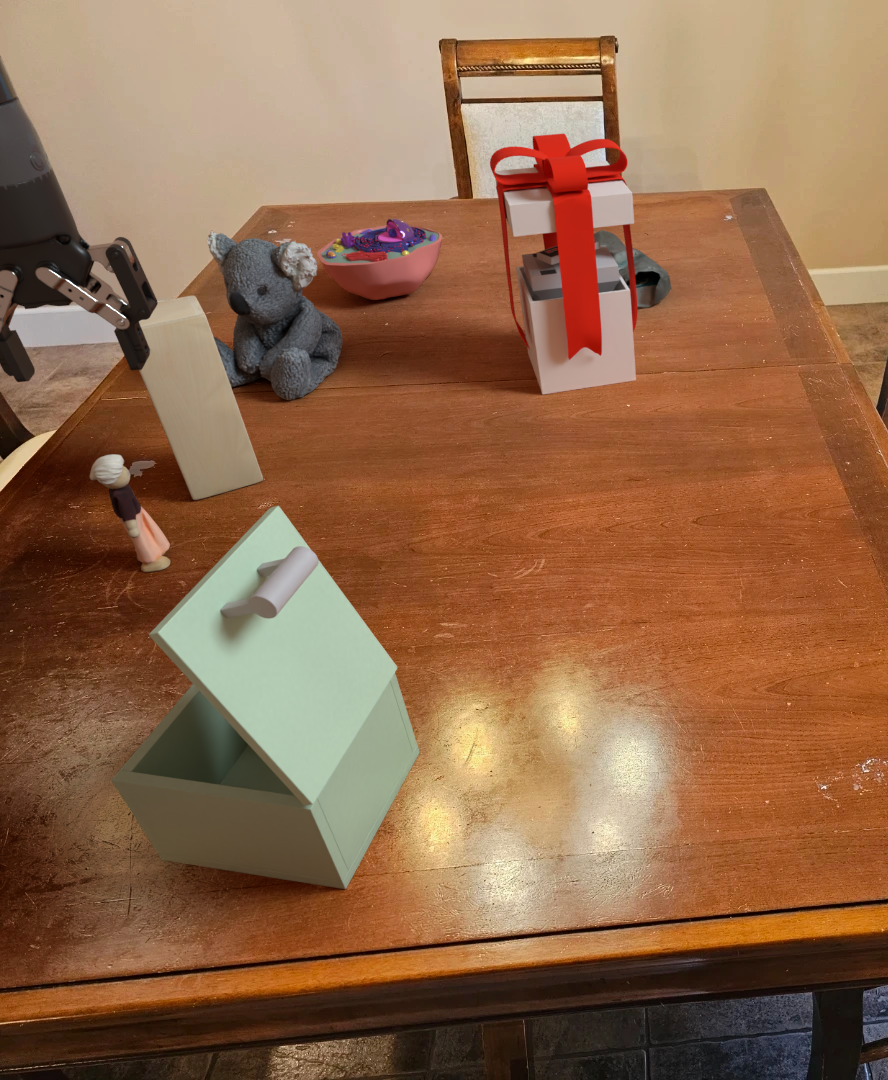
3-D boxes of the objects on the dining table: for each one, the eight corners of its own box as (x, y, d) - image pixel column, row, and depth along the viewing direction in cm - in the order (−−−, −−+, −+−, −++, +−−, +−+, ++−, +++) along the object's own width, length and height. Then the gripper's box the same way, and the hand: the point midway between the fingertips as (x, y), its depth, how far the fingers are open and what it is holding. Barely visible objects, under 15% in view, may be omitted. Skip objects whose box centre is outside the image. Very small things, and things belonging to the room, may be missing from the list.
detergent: (682, 305, 149) (636, 250, 168) (678, 263, 145) (631, 211, 163) (604, 324, 146) (566, 266, 164) (597, 282, 142) (559, 227, 160)
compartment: (161, 860, 69) (110, 780, 63) (257, 729, 79) (220, 650, 73) (345, 889, 67) (310, 809, 61) (420, 752, 77) (395, 672, 71)
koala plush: (195, 390, 128) (140, 251, 116) (277, 336, 141) (236, 206, 129) (303, 406, 124) (259, 264, 112) (377, 349, 138) (344, 217, 126)
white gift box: (625, 334, 141) (610, 124, 123) (653, 384, 128) (640, 158, 110) (513, 350, 137) (480, 135, 119) (530, 403, 124) (496, 172, 106)
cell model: (311, 293, 154) (292, 225, 148) (420, 263, 165) (407, 199, 158) (356, 324, 144) (337, 253, 138) (469, 290, 155) (457, 223, 148)
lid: (147, 634, 53) (212, 622, 51) (269, 507, 63) (327, 493, 61) (303, 805, 61) (364, 799, 60) (390, 669, 71) (443, 660, 70)
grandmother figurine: (186, 565, 97) (139, 463, 89) (147, 582, 95) (96, 479, 87) (159, 534, 101) (112, 434, 94) (121, 550, 99) (70, 449, 91)
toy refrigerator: (253, 453, 114) (193, 291, 102) (266, 480, 110) (205, 314, 97) (183, 473, 111) (112, 307, 98) (193, 502, 106) (120, 332, 93)
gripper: (112, 150, 71) (185, 344, 81) (-98, 162, 69) (4, 361, 79) (82, 178, 66) (165, 383, 75) (-148, 192, 63) (-31, 403, 73)
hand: (83, 372), depth 77 cm, fingers open, 8 cm apart
